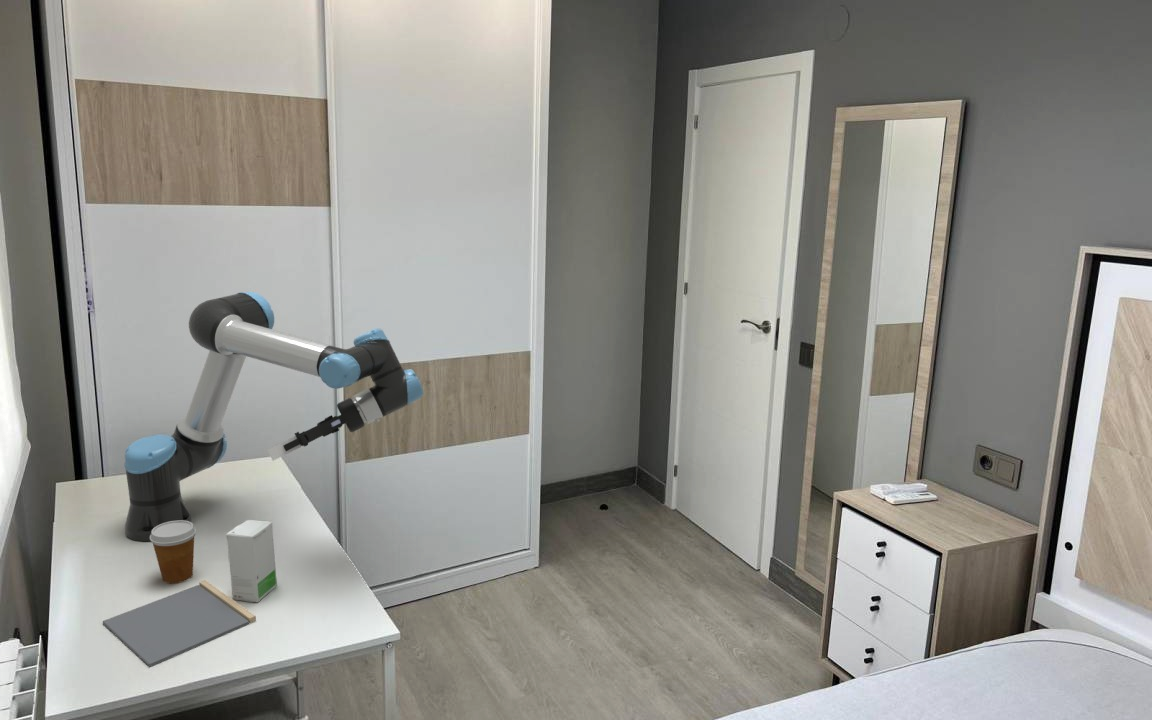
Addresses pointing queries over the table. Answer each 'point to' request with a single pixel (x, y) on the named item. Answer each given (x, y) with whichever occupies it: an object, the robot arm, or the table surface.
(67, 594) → the table surface
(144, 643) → the rubber mat
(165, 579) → the disposable coffee cup
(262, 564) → the skincare box
